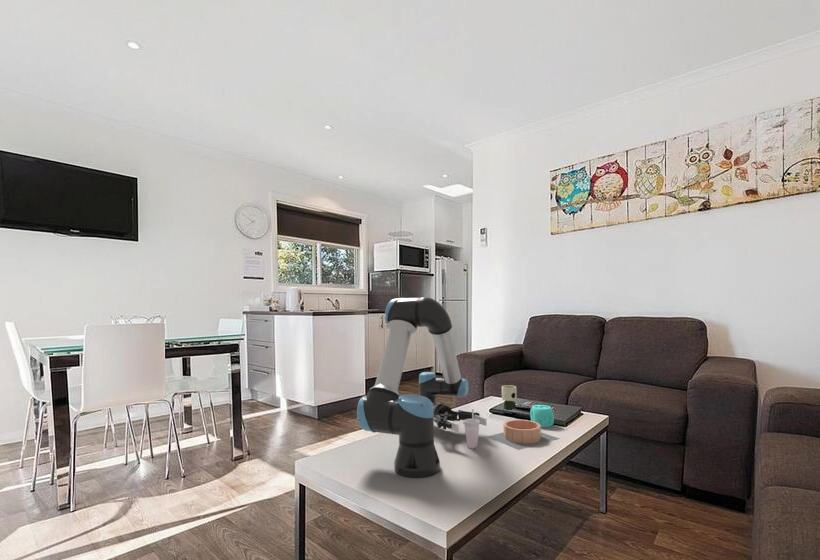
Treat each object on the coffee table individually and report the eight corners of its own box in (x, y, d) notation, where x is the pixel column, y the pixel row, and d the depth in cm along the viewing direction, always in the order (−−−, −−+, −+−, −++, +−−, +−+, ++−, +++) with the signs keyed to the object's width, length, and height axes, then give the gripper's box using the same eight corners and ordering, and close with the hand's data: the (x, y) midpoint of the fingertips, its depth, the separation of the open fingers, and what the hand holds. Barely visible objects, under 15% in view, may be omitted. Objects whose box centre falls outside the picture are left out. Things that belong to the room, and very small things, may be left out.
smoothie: (480, 450, 153) (479, 411, 154) (463, 449, 154) (462, 411, 155) (481, 444, 159) (480, 407, 160) (464, 443, 160) (463, 406, 161)
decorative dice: (530, 422, 185) (530, 404, 186) (548, 422, 185) (547, 404, 185) (535, 428, 177) (534, 409, 178) (554, 428, 177) (553, 409, 177)
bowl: (522, 446, 155) (522, 432, 155) (496, 436, 167) (496, 423, 167) (548, 439, 162) (548, 426, 162) (522, 429, 174) (521, 417, 174)
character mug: (512, 417, 195) (511, 389, 195) (498, 415, 199) (497, 387, 200) (521, 412, 203) (520, 385, 204) (507, 410, 208) (506, 383, 208)
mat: (518, 451, 151) (518, 449, 151) (486, 437, 166) (486, 436, 166) (559, 439, 162) (559, 438, 162) (525, 428, 178) (525, 427, 178)
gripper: (463, 417, 182) (497, 429, 164) (415, 426, 170) (445, 441, 151) (463, 399, 183) (496, 410, 164) (415, 408, 170) (445, 420, 152)
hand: (472, 425), depth 158 cm, fingers open, 13 cm apart
